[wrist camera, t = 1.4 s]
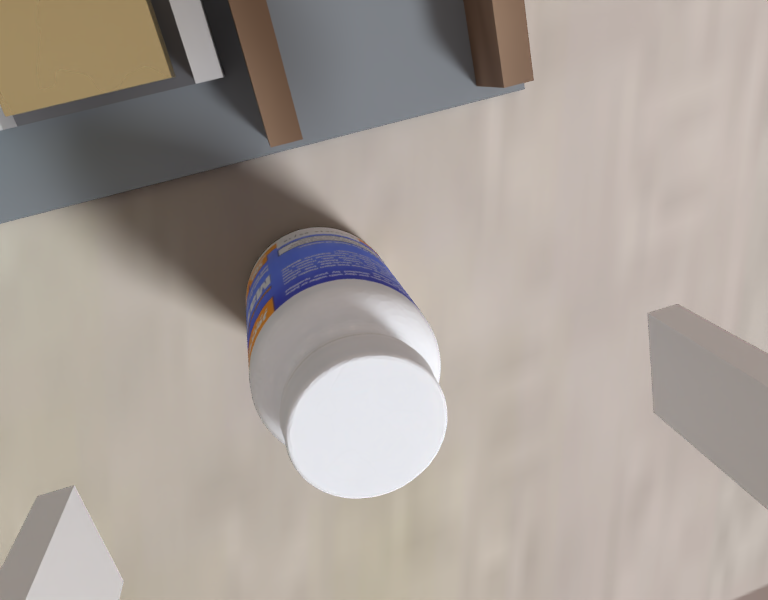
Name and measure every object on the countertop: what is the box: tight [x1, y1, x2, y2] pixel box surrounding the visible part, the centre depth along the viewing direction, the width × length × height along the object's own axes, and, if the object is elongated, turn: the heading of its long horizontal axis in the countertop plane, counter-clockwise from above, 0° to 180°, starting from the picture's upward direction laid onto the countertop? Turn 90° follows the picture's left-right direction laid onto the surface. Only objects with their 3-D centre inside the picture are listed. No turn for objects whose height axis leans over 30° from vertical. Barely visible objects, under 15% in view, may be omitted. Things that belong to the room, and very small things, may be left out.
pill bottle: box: [246, 227, 447, 498], centre depth 19 cm, size 5×5×10 cm
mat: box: [0, 0, 525, 224], centre depth 19 cm, size 26×9×1 cm, turn 103°
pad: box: [0, 0, 176, 117], centre depth 17 cm, size 4×3×1 cm
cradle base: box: [0, 0, 225, 131], centre depth 18 cm, size 7×4×2 cm, turn 103°
